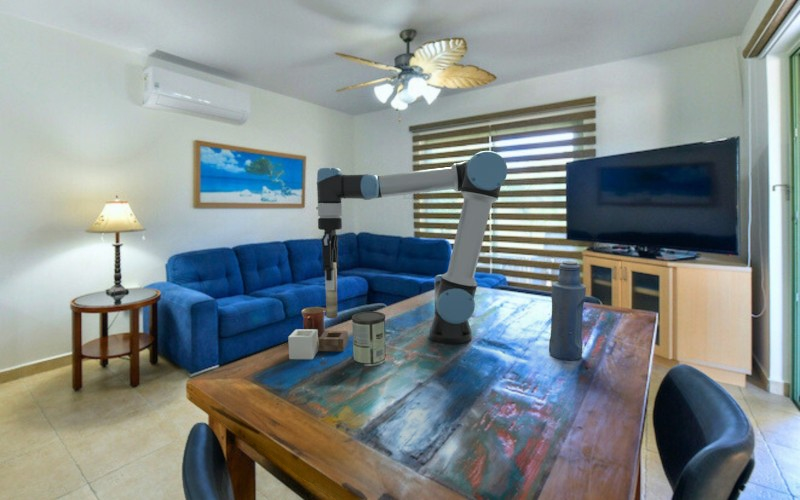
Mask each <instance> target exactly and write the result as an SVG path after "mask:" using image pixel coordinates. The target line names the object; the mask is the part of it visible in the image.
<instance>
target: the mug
mask: <svg viewBox="0 0 800 500" xmlns="http://www.w3.org/2000/svg"><path fill="white" fill-rule="evenodd" d="M301 315H302V317H303V320H302V326H303V329H316V330H318V338H320V337H321V335H322V334H323V333H324V331H326V329H325V328H326V327H325V315H326V307H321V306H311V307H306V308H303V309H302V310H301Z"/></svg>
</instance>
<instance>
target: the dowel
mask: <svg viewBox="0 0 800 500" xmlns="http://www.w3.org/2000/svg"><path fill="white" fill-rule="evenodd" d="M336 268H337V267H336V263H335V262H333V270H334V290H325V309H326V312H325V315H326V318H327V319H335V318H337V317H338V274H337V273H338V269H337V270H336Z"/></svg>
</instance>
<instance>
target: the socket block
mask: <svg viewBox="0 0 800 500" xmlns="http://www.w3.org/2000/svg"><path fill="white" fill-rule="evenodd" d="M348 343H349V331H347V330H342V331H341V330H325V331H324V333H323V334H322V335H321V337H318V352H345V349H346V347H347V345H348Z"/></svg>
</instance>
